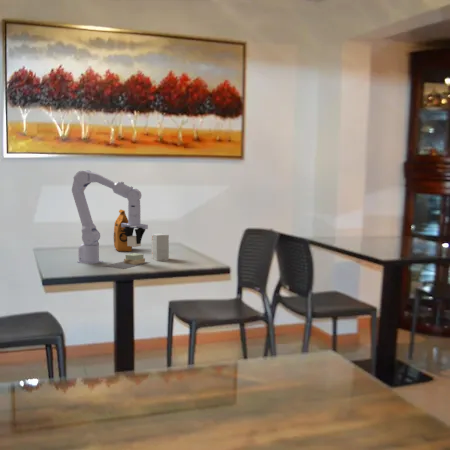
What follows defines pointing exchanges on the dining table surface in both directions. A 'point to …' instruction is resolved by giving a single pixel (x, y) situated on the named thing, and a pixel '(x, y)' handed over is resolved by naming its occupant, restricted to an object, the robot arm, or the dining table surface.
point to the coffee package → (121, 233)
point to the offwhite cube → (132, 241)
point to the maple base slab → (134, 261)
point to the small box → (160, 247)
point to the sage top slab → (134, 256)
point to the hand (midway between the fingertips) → (134, 243)
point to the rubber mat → (123, 265)
